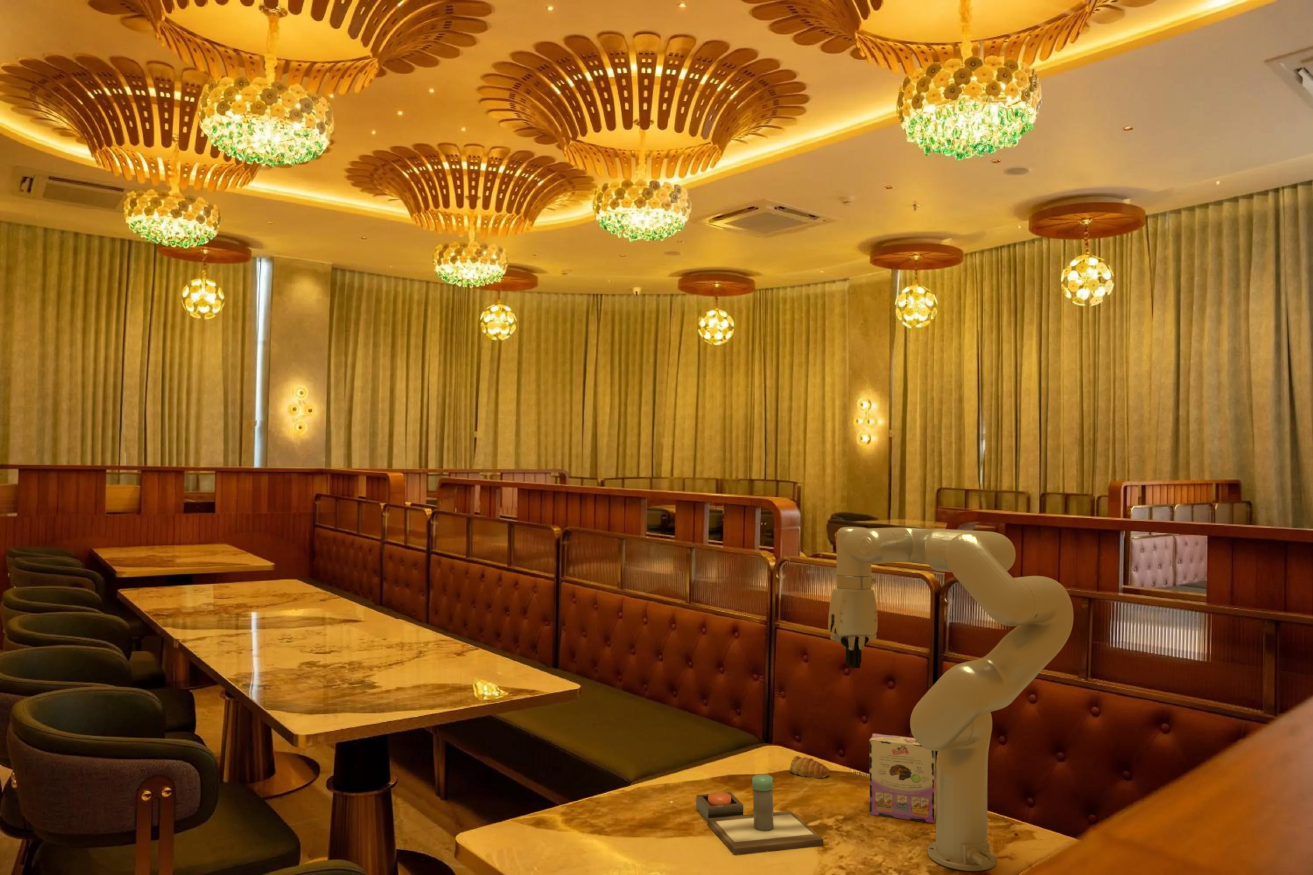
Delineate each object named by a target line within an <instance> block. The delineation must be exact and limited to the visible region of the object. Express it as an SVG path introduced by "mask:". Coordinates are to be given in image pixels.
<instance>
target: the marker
mask: <svg viewBox="0 0 1313 875" xmlns="http://www.w3.org/2000/svg"><path fill="white" fill-rule="evenodd" d="M773 779H774V778H773V776H771V775H769V774H755V775H753V776H752V777H751V781H752V782H751V785H752V796H753V797H752V798H753V799H752V800H753V801H752V802H753V814H754V828H755V829H756V830H759V831H769V830H772V829H773V828H774V823H773V812H774V800H773V799H774V798H773V797H774V796H773V793H774V792H773V788H774V782H773V781H774V780H773Z"/></svg>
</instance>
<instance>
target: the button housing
mask: <svg viewBox="0 0 1313 875" xmlns="http://www.w3.org/2000/svg"><path fill="white" fill-rule="evenodd" d="M725 793H727V794H729V795H731V804H726V805H715V806H711V805H710V804H709V803H708V795H709V794H710V793H706V794H705V793H704V794H703V793H702V794H696V796H695V799H696V801H695V803H696V804H695V809H696V810H697V811H698V813H699V814H700V815H701V816H702V817H703V818H704V819H705V820H706V821H707V818H718V817H728V816H739V815H744V804H743V803H742V802H741V801H740V800H739V799H738V798H737V796H735V795H734V794H733V793H732V792H731V791H729V792H725Z"/></svg>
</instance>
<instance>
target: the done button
mask: <svg viewBox="0 0 1313 875" xmlns="http://www.w3.org/2000/svg"><path fill="white" fill-rule="evenodd" d="M708 794H709V795H708V803H709V804H710V805H711V806H715V805H726V804H731V795H729V794H727V793H726V792H724V791H723V792H722V791H715V792H714V791H713V792H711V793H708Z"/></svg>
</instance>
